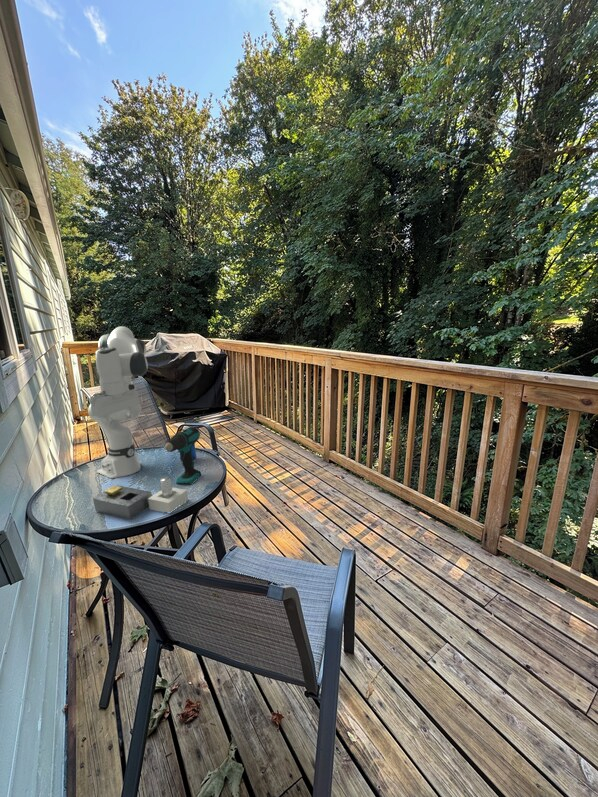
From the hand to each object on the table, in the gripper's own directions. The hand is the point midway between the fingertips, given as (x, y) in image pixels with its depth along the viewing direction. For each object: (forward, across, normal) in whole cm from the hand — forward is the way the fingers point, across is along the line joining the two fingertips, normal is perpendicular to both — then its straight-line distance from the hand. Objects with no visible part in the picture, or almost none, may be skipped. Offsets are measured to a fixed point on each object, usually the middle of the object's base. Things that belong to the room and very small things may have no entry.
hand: (119, 421), depth 142 cm
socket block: (+37, -4, +1) cm, 37 cm away
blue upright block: (+37, +44, +7) cm, 58 cm away
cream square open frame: (+37, +4, -16) cm, 41 cm away
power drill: (+37, +24, -8) cm, 45 cm away
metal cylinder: (+37, +4, -16) cm, 41 cm away
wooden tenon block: (+37, -4, +6) cm, 37 cm away
